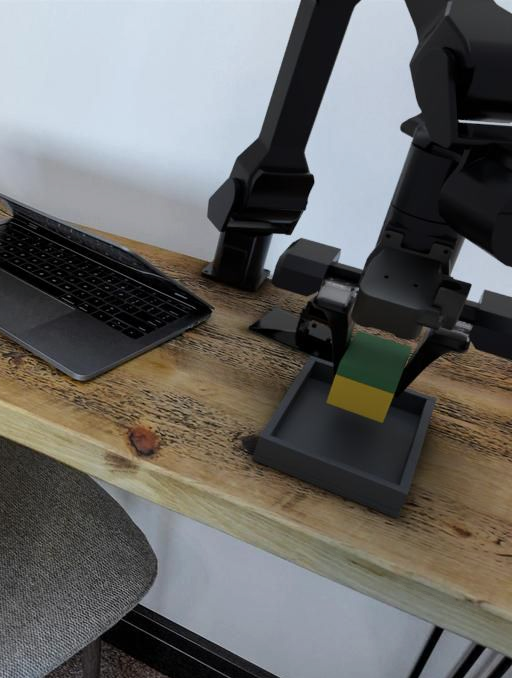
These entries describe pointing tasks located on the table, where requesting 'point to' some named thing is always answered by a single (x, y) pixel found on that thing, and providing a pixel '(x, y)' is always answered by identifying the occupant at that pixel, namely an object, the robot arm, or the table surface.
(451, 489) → the table surface
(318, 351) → the black mechanical part
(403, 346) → the sponge
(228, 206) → the robot arm
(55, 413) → the table surface
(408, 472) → the tray
